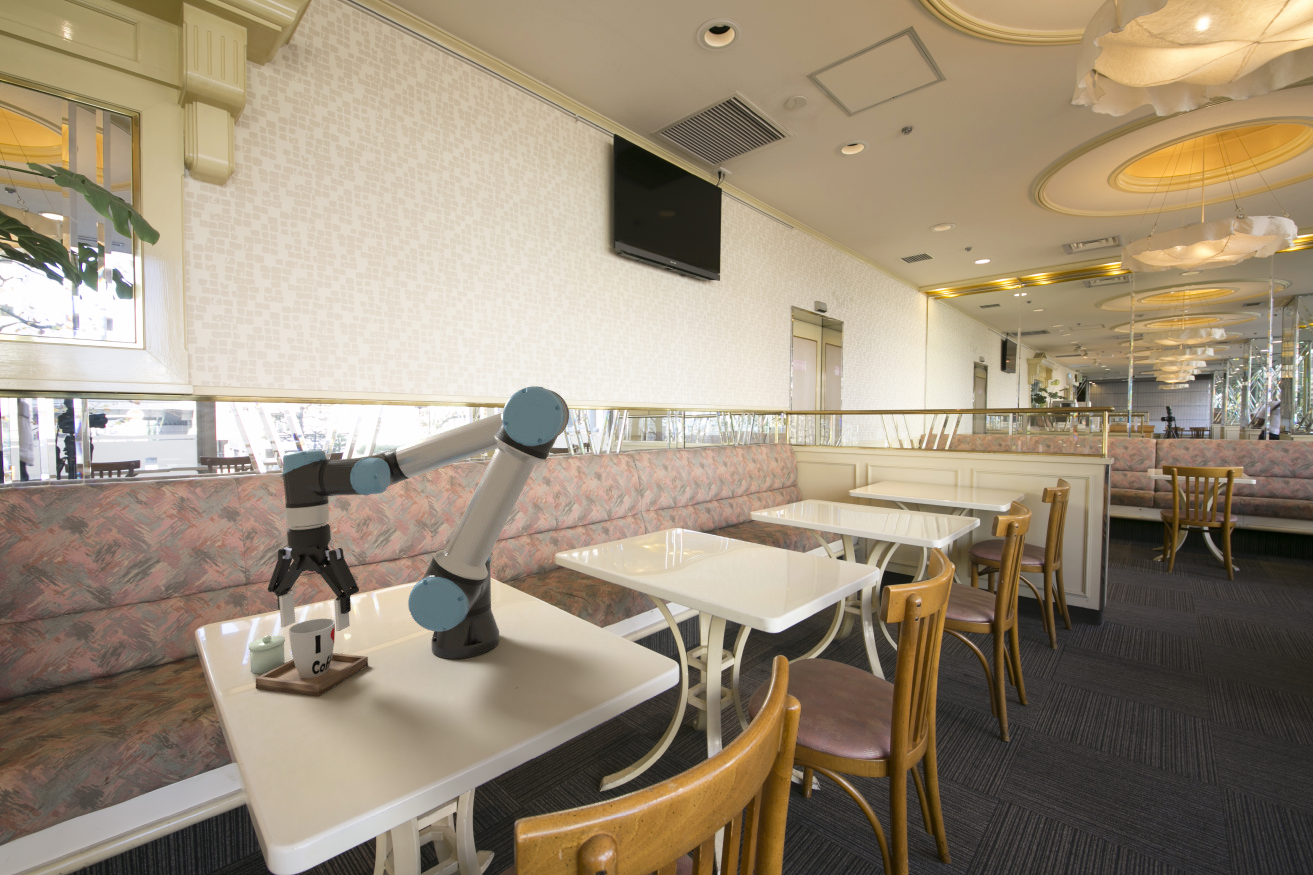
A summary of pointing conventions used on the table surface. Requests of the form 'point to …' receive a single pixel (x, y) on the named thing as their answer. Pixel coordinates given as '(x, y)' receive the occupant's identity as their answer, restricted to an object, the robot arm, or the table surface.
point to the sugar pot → (266, 654)
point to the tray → (291, 681)
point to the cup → (312, 646)
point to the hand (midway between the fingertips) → (315, 626)
